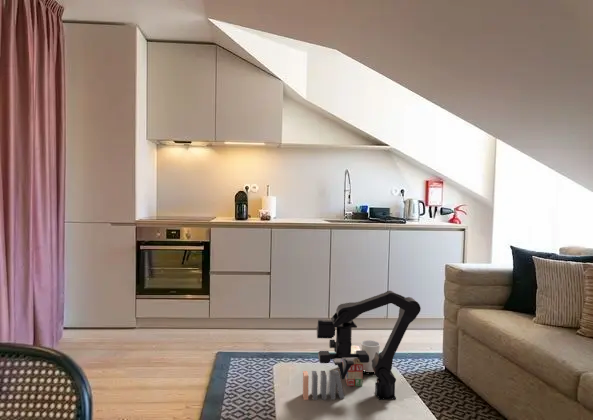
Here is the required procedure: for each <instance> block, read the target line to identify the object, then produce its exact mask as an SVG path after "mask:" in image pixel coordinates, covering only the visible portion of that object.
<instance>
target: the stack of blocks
mask: <svg viewBox="0 0 593 420" xmlns="http://www.w3.org/2000/svg"><path fill="white" fill-rule="evenodd" d="M356 350H361V347H360V346H359V345H354V344H353V345H352V346H351V354H356ZM341 361H342V363H343V366H344V359H342V360H341ZM353 362H354V365H351V367H350V368H349V370H348V372H347V374H346V376H345V378H344V379H345V382H346V386H347V387H363V382H364V379H363V378H364V377H363V375H364V374H363V373H364V372H363V363H361V362H360V361H359V359H354V360H353Z"/></svg>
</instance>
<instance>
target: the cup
mask: <svg viewBox="0 0 593 420" xmlns="http://www.w3.org/2000/svg"><path fill="white" fill-rule="evenodd" d="M360 344H361V350H365V351H366V352H367V354H368V355H369V362H368V363H363V370H365V371H366V372H374V371H373V368H372V360H373V358H374V356H375V353H376V352H377V353H378V354H380V347H381V343H380V342H378V341H375V340H369V339H368V340H363V341H361V343H360Z"/></svg>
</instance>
